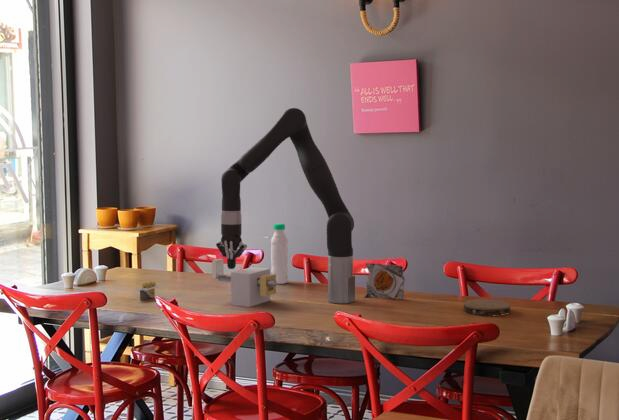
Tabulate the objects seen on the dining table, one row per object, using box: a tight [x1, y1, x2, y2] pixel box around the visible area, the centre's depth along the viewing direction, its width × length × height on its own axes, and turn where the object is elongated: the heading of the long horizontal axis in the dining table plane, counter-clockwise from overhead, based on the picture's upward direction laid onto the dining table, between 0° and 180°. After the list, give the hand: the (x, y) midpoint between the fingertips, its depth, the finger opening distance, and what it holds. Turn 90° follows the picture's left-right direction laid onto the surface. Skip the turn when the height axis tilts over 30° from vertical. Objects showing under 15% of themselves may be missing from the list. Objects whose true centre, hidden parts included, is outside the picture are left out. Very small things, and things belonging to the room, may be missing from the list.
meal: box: [363, 262, 406, 300], centre depth 308 cm, size 15×4×13 cm, turn 69°
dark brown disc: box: [463, 299, 511, 317], centre depth 285 cm, size 16×16×3 cm
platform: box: [136, 281, 159, 301], centre depth 308 cm, size 12×18×7 cm, turn 153°
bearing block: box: [230, 266, 271, 308], centre depth 300 cm, size 8×14×12 cm, turn 151°
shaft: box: [211, 258, 278, 288], centre depth 301 cm, size 26×5×8 cm, turn 61°
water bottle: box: [270, 223, 289, 285], centre depth 340 cm, size 7×7×25 cm
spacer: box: [260, 273, 277, 296], centre depth 297 cm, size 2×7×7 cm, turn 151°
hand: (231, 268), depth 304 cm, fingers closed
